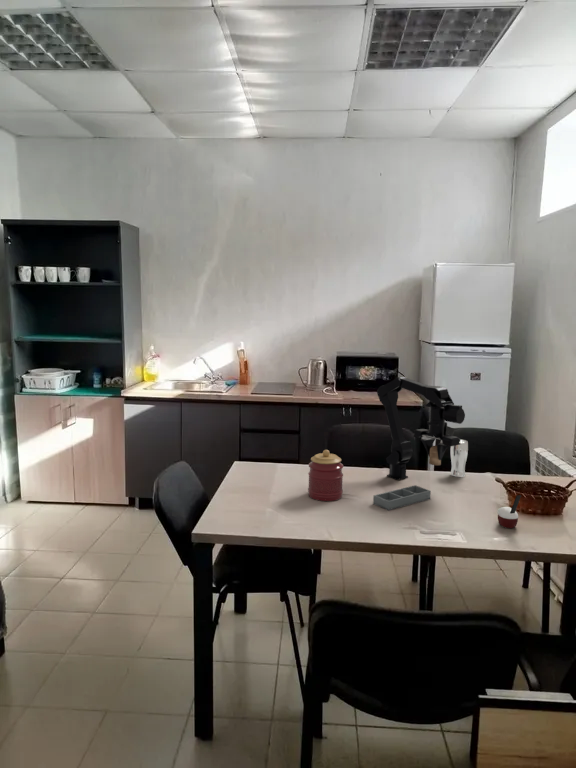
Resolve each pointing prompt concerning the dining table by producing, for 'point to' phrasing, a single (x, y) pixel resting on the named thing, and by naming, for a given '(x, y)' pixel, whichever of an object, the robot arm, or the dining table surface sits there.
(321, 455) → the canister
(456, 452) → the beer glass
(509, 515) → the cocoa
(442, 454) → the robot arm
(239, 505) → the dining table surface
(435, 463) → the brown rounded cylinder
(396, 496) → the grey compartment tray
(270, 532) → the dining table surface
